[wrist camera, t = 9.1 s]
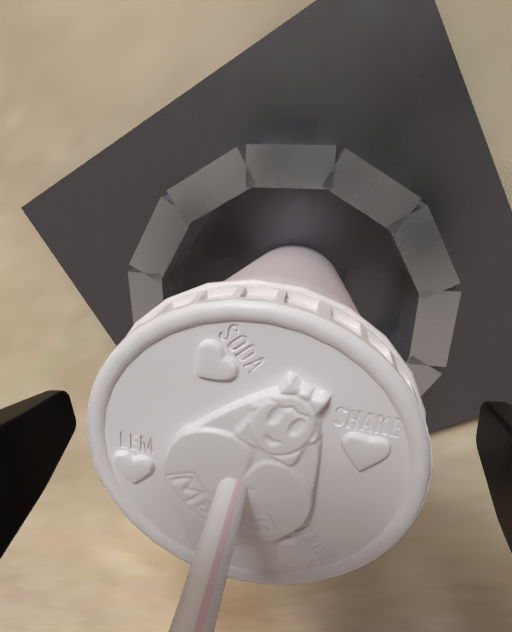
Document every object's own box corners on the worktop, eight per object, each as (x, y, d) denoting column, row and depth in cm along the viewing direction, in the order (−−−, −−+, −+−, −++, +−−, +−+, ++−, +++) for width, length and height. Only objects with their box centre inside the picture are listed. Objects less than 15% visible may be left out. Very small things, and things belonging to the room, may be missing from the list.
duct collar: (407, -58, 12) (429, -116, 10) (569, 379, 16) (616, 426, 14) (29, 206, 17) (-27, 217, 15) (224, 490, 21) (208, 541, 19)
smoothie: (186, 314, 18) (-203, 774, 5) (262, 173, 15) (-148, 349, 2) (318, 391, 18) (285, 1015, 5) (415, 266, 15) (843, 896, 2)
